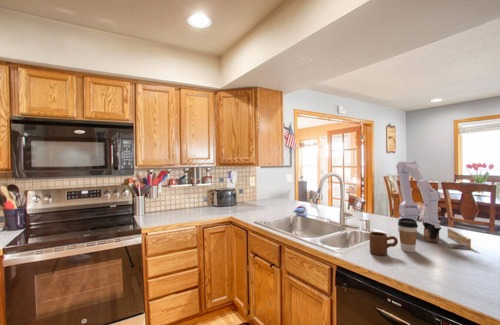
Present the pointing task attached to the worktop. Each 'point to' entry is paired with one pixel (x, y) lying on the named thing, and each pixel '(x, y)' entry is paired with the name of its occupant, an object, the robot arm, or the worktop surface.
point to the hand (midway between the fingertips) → (431, 237)
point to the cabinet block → (428, 237)
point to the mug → (380, 243)
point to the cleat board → (457, 240)
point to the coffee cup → (408, 234)
